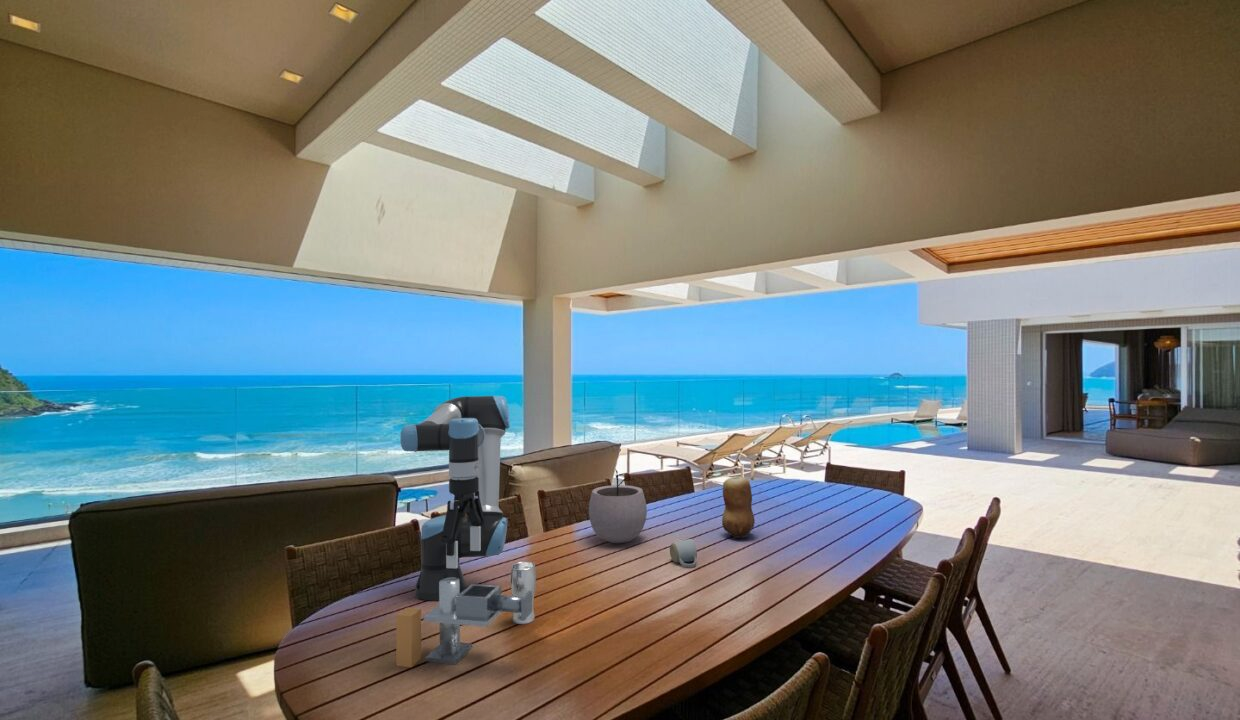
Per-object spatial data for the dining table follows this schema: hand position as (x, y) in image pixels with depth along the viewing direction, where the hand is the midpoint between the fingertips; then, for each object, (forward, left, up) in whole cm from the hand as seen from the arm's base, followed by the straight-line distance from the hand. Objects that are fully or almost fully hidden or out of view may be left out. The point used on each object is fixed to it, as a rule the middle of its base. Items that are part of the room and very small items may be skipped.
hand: (464, 558), depth 139 cm
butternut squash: (+72, +100, -21) cm, 125 cm away
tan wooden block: (-8, -12, -21) cm, 26 cm away
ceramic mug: (+52, +66, -21) cm, 87 cm away
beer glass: (+11, +14, -21) cm, 28 cm away
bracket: (+12, -7, -10) cm, 17 cm away
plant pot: (+23, +87, -21) cm, 92 cm away
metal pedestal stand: (+4, -7, -21) cm, 23 cm away
